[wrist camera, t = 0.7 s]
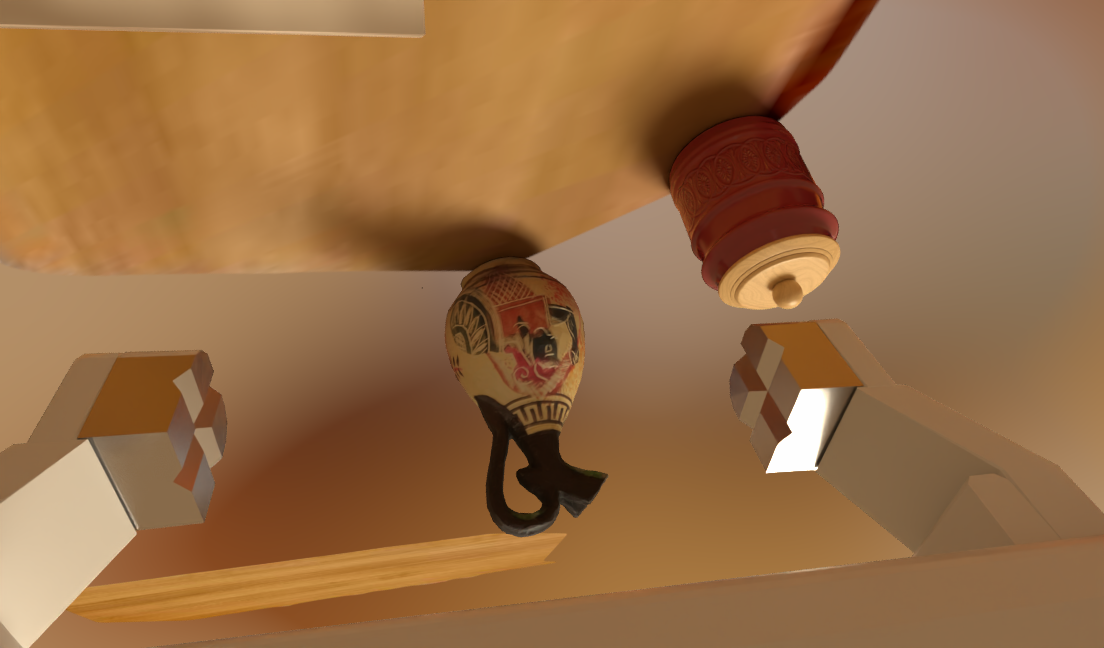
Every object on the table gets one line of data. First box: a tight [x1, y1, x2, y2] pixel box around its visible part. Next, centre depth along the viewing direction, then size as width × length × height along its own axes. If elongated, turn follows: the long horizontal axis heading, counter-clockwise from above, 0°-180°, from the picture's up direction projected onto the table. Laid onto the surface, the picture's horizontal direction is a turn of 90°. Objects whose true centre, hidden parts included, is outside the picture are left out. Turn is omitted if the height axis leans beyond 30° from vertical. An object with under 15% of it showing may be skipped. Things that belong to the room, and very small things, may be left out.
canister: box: [669, 116, 840, 310], centre depth 64 cm, size 13×13×18 cm
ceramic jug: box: [445, 257, 608, 537], centre depth 71 cm, size 17×15×30 cm
